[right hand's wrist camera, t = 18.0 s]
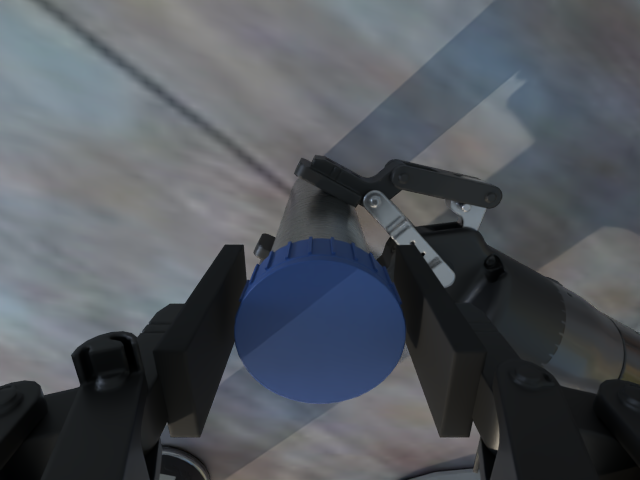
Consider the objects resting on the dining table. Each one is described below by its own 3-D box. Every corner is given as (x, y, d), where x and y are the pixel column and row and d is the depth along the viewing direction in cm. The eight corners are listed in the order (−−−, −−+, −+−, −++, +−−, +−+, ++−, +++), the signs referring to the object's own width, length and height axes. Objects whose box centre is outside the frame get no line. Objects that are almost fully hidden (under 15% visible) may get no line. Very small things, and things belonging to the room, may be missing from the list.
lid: (269, 379, 13) (262, 418, 12) (222, 255, 12) (205, 281, 10) (407, 352, 13) (420, 389, 11) (381, 218, 11) (392, 239, 9)
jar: (360, 186, 26) (416, 297, 11) (333, 236, 27) (349, 396, 12) (306, 158, 25) (284, 237, 10) (280, 212, 27) (229, 350, 12)
